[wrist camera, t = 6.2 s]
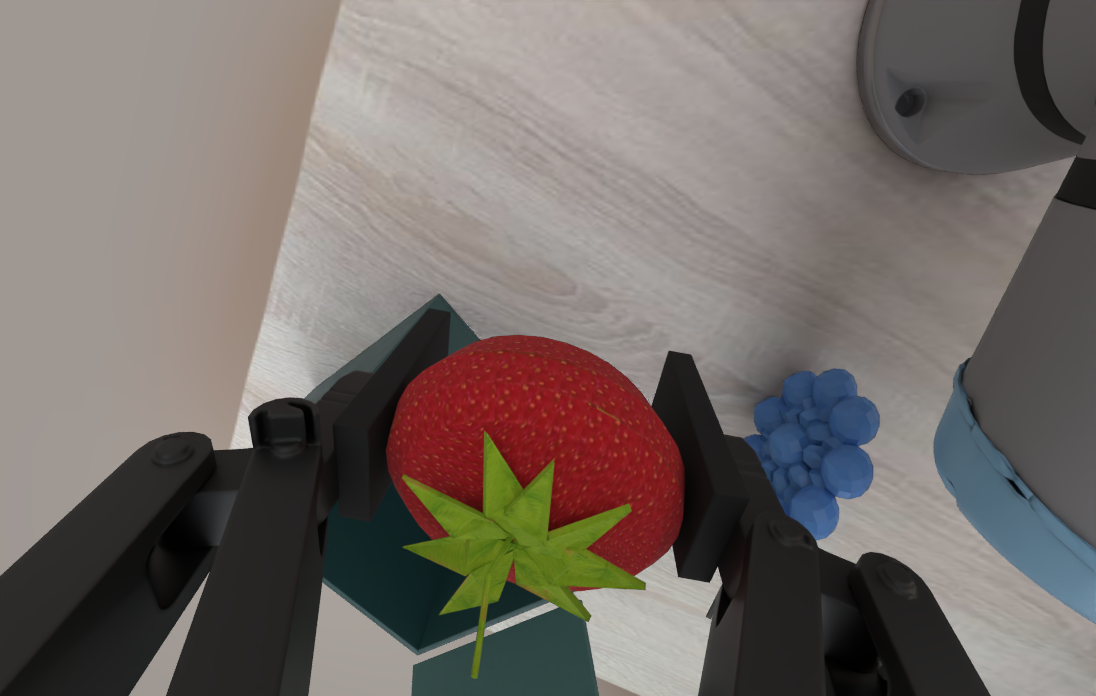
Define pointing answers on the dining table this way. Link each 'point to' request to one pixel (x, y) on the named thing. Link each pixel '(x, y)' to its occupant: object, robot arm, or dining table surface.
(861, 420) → the blue knobby cluster
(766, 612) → the robot arm
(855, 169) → the dining table surface
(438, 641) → the carton
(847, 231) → the dining table surface
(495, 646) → the flap
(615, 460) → the strawberry
